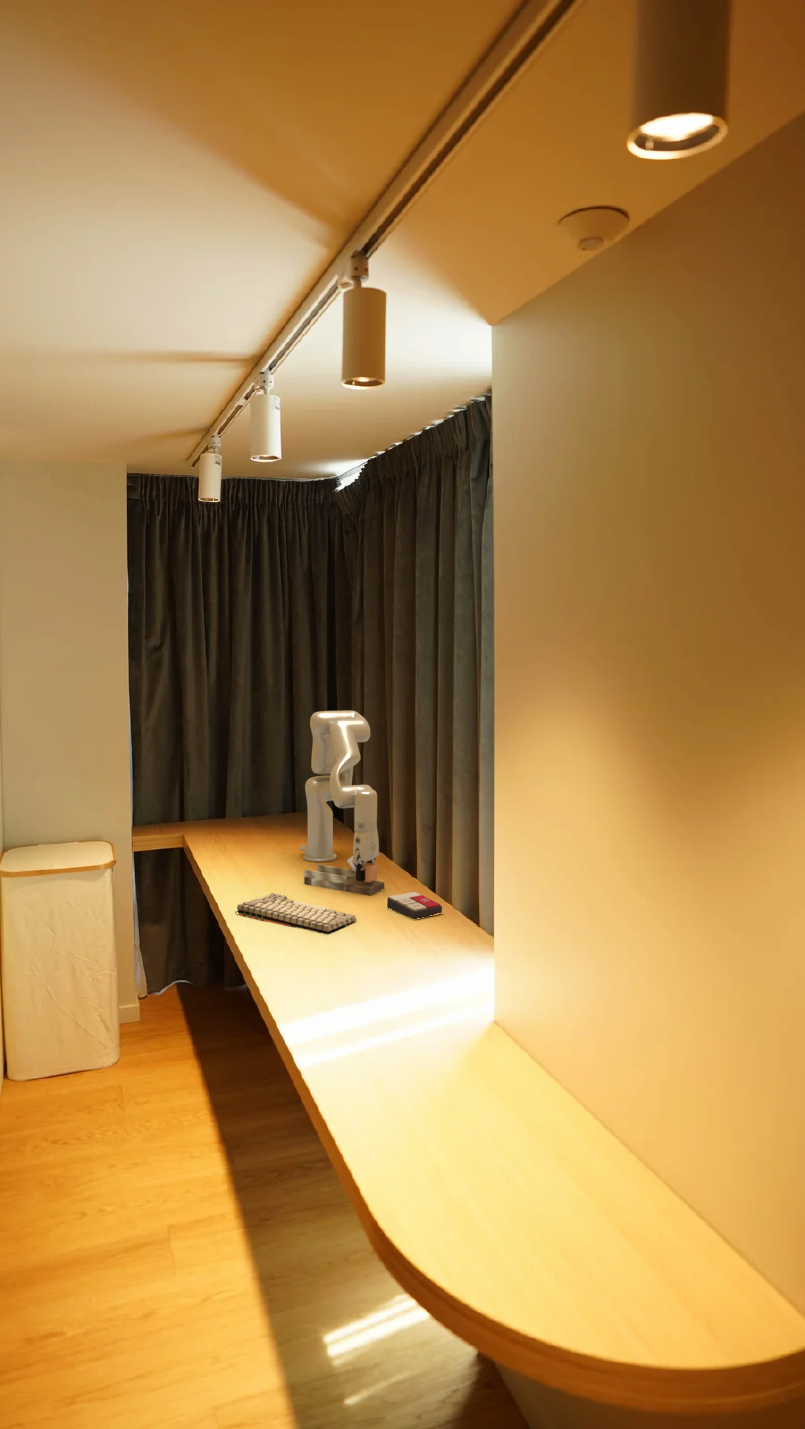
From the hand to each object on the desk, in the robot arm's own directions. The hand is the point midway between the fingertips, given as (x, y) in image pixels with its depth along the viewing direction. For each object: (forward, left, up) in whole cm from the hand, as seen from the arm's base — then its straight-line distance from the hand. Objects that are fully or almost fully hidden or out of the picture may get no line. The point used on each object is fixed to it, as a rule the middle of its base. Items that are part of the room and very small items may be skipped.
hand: (364, 878), depth 326 cm
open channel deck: (-9, 0, -4) cm, 10 cm away
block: (+1, 0, 0) cm, 1 cm away
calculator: (+25, -12, -5) cm, 28 cm away
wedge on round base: (-12, +18, -4) cm, 22 cm away
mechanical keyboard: (-3, -35, -5) cm, 35 cm away
